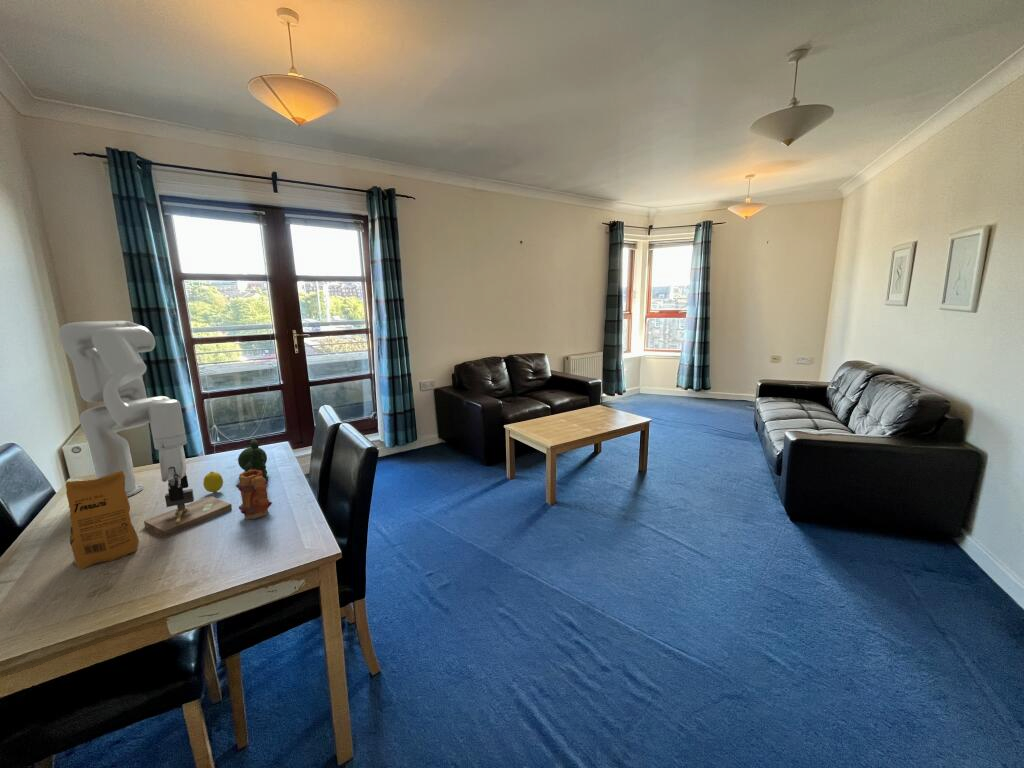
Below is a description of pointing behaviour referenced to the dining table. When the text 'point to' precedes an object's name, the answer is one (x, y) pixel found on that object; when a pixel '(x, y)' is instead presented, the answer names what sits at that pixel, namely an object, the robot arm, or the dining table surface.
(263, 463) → the toy figurine
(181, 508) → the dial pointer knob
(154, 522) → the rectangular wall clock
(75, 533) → the coffee package
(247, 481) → the orange lumpy cylinder
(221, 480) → the lemon
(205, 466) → the dining table surface
